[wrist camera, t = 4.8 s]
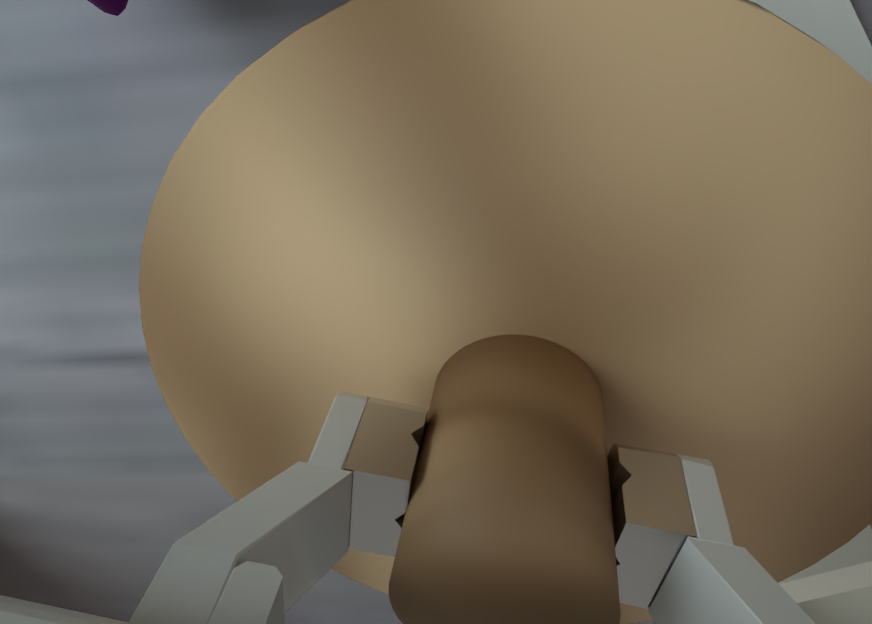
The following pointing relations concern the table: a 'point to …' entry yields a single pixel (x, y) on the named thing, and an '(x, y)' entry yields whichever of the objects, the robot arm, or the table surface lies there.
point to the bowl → (837, 584)
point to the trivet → (828, 28)
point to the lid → (531, 280)
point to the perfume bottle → (110, 5)
